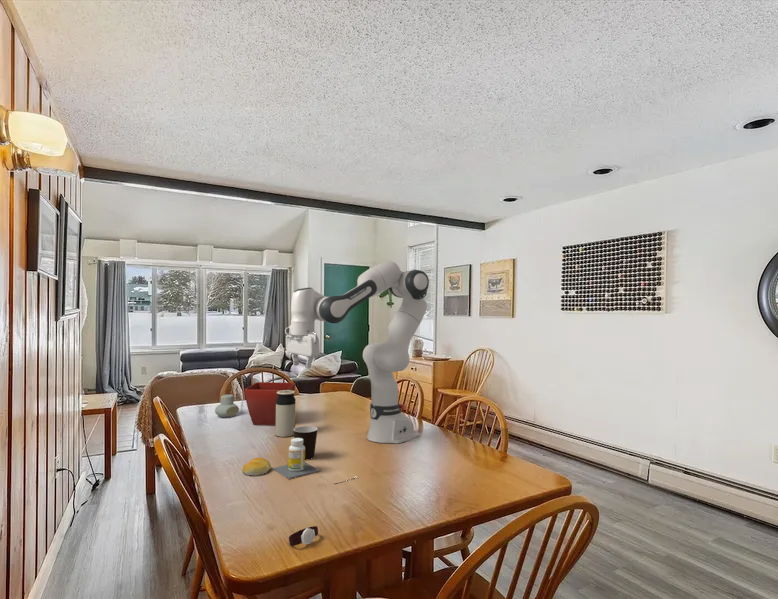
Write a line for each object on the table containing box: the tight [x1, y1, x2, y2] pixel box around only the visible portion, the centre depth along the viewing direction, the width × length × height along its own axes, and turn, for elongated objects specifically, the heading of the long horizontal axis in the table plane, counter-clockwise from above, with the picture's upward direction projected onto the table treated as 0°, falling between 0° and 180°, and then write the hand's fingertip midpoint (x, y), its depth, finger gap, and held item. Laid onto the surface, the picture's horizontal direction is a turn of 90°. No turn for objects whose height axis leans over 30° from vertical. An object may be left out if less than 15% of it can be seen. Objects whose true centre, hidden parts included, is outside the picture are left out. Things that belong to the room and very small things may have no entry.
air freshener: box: [214, 394, 240, 419], centre depth 221 cm, size 11×8×10 cm
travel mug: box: [275, 390, 296, 438], centre depth 191 cm, size 8×8×18 cm
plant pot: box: [244, 381, 296, 426], centre depth 211 cm, size 19×19×17 cm
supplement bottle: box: [287, 437, 306, 471], centre depth 150 cm, size 5×5×10 cm
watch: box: [288, 525, 319, 547], centre depth 105 cm, size 8×5×4 cm, turn 140°
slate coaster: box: [272, 461, 320, 480], centre depth 150 cm, size 11×11×1 cm
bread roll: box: [241, 457, 272, 476], centre depth 149 cm, size 8×9×4 cm
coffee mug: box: [293, 425, 318, 461], centre depth 165 cm, size 12×9×10 cm
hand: (302, 366), depth 172 cm, fingers open, 8 cm apart
